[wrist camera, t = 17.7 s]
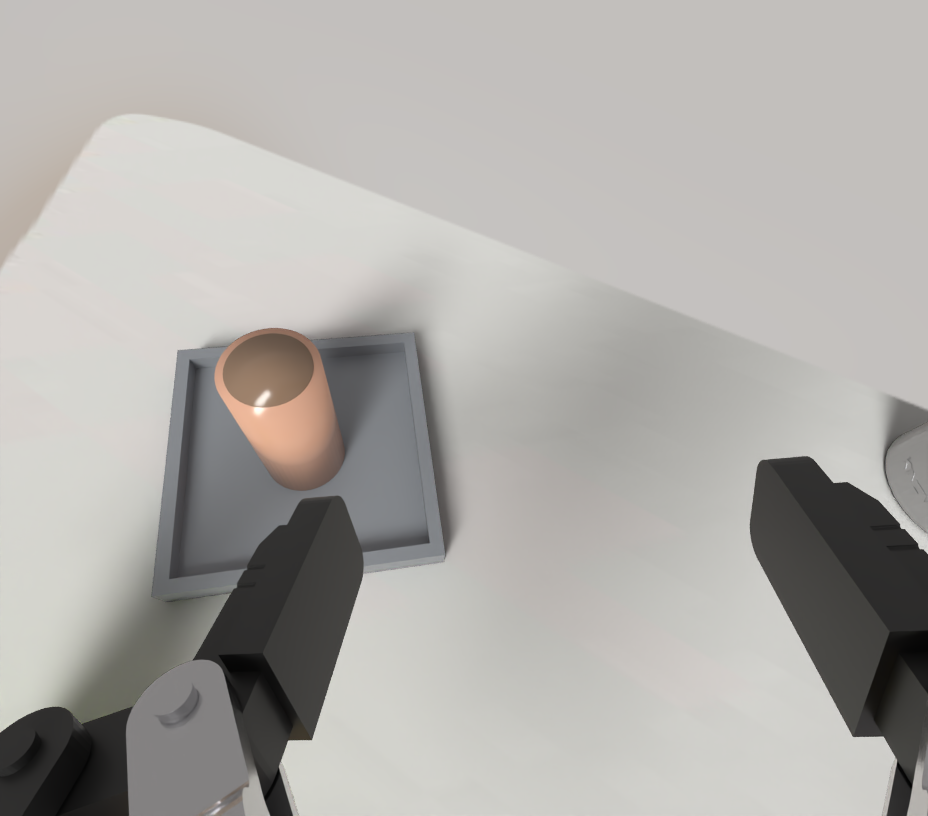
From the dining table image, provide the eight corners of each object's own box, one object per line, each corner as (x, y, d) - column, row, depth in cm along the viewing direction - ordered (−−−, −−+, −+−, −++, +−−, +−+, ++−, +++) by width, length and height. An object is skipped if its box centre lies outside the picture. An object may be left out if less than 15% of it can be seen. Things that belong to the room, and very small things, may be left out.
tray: (413, 348, 40) (414, 332, 38) (443, 561, 32) (445, 554, 31) (188, 366, 37) (177, 350, 35) (166, 602, 30) (151, 596, 28)
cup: (343, 416, 36) (321, 324, 27) (346, 486, 33) (322, 409, 24) (267, 423, 35) (218, 329, 26) (264, 494, 32) (209, 418, 24)
